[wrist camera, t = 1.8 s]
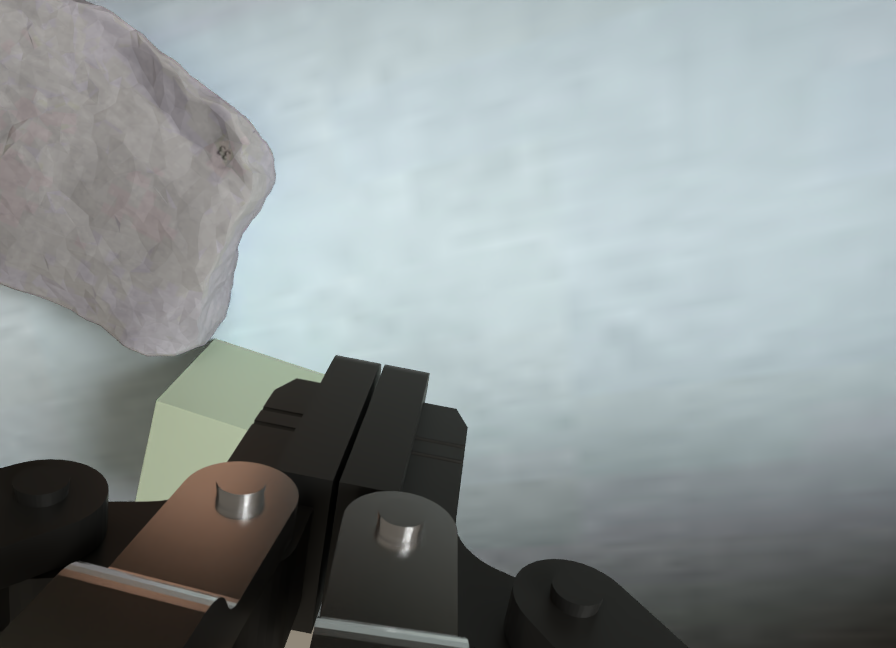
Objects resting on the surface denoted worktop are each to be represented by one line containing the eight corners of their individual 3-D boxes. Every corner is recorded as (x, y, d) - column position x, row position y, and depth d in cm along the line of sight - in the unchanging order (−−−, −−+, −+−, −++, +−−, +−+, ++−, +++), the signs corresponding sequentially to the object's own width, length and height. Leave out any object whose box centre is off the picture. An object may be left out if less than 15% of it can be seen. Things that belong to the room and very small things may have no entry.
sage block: (339, 378, 32) (303, 448, 26) (307, 482, 33) (269, 567, 28) (215, 337, 31) (156, 400, 26) (190, 445, 33) (130, 523, 28)
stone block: (20, -38, 29) (-81, 213, 30) (-57, -77, 24) (-170, 224, 26) (323, 120, 30) (212, 352, 32) (306, 114, 26) (178, 386, 27)
